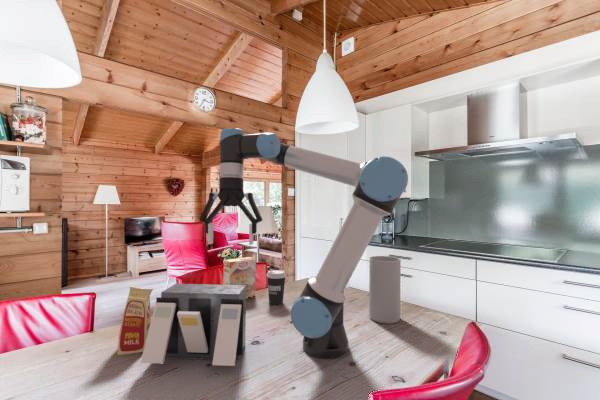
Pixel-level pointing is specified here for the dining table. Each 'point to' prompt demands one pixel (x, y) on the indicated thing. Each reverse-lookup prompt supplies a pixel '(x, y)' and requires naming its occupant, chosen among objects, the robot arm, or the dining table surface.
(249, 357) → the dining table surface
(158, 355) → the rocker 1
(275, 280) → the coffee cup
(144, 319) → the milk carton
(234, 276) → the coffeecake box
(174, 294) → the card holder crate
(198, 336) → the cream flat slab
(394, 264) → the cylinder vase
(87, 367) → the dining table surface
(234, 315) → the cream flat slab
